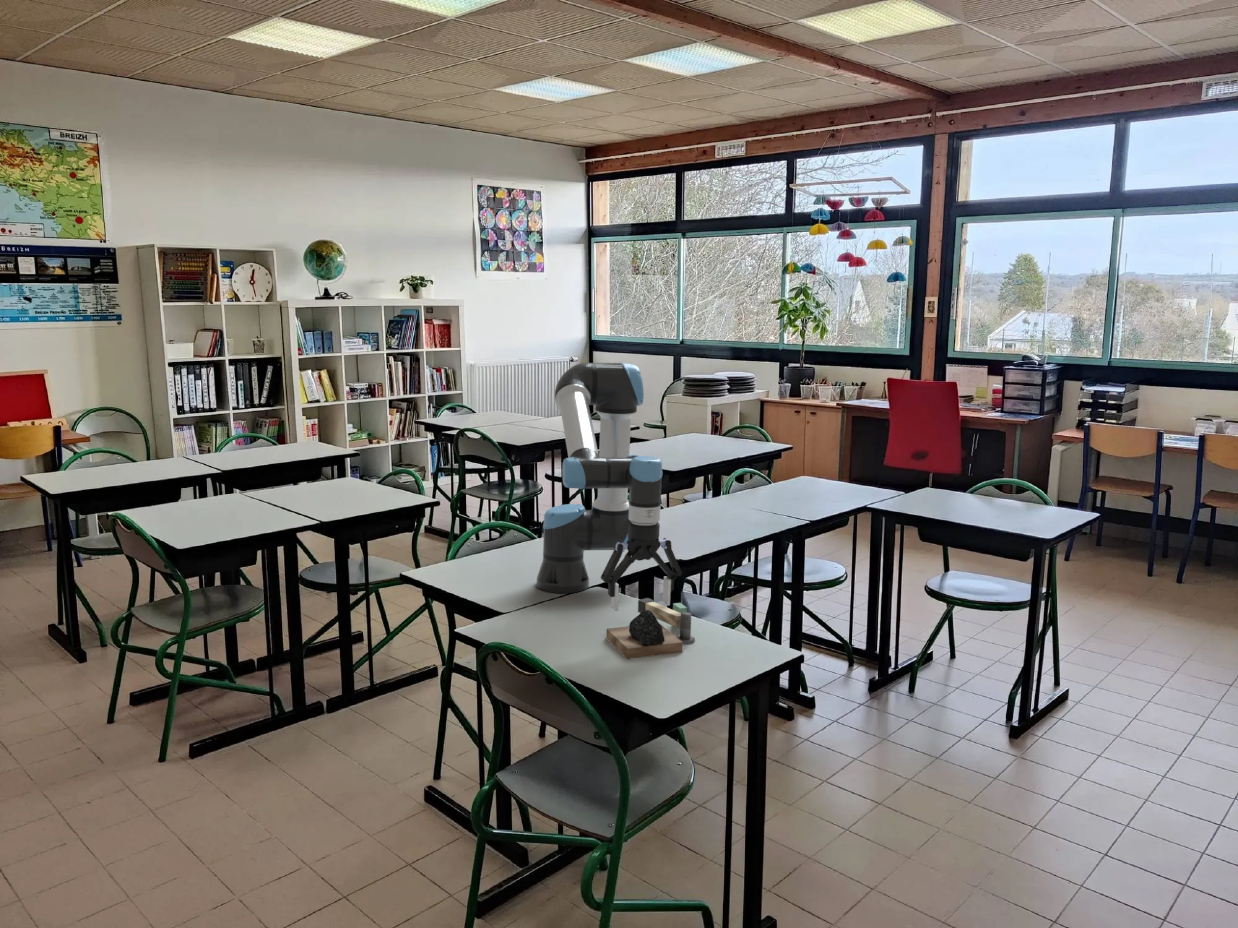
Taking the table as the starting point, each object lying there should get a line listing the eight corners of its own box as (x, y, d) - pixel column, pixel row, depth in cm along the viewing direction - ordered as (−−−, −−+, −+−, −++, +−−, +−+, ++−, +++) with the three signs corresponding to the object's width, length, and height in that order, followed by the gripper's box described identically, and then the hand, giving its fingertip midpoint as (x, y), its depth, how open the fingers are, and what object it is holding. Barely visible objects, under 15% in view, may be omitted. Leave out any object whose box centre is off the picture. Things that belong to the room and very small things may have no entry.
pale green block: (672, 625, 240) (673, 603, 239) (679, 624, 241) (680, 602, 240) (678, 630, 236) (679, 608, 235) (686, 629, 237) (686, 607, 236)
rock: (643, 648, 217) (643, 623, 216) (622, 633, 226) (623, 610, 225) (669, 643, 220) (670, 620, 219) (648, 629, 229) (649, 607, 228)
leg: (684, 625, 232) (685, 613, 231) (675, 628, 230) (675, 615, 229) (647, 609, 243) (647, 597, 242) (637, 611, 241) (638, 599, 241)
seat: (606, 638, 229) (607, 611, 228) (681, 629, 237) (682, 604, 236) (627, 658, 217) (628, 630, 215) (706, 649, 224) (707, 622, 223)
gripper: (600, 529, 215) (597, 616, 219) (698, 522, 224) (693, 606, 228) (589, 520, 222) (586, 605, 226) (684, 514, 230) (680, 596, 235)
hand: (640, 606), depth 227 cm, fingers open, 13 cm apart
